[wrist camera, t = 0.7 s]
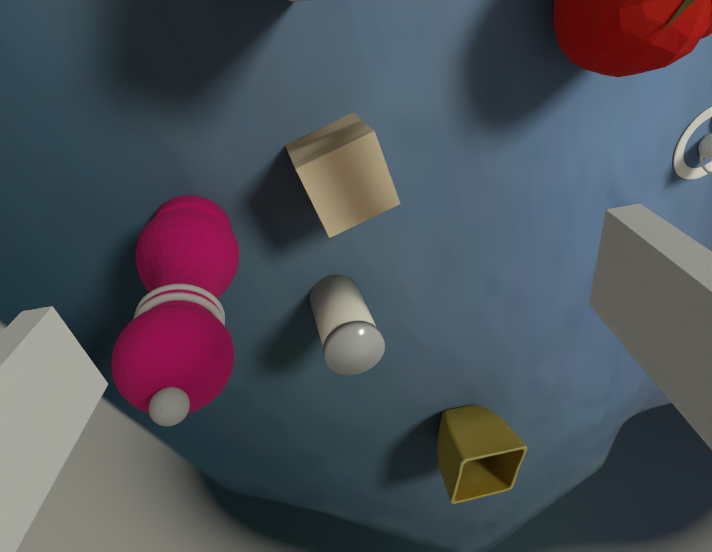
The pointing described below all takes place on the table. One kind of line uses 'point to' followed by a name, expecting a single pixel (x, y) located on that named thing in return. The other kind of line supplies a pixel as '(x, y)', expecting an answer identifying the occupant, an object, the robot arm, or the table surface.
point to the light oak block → (344, 173)
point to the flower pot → (477, 453)
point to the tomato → (629, 32)
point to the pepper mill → (179, 312)
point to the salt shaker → (345, 326)
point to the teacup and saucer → (707, 148)
